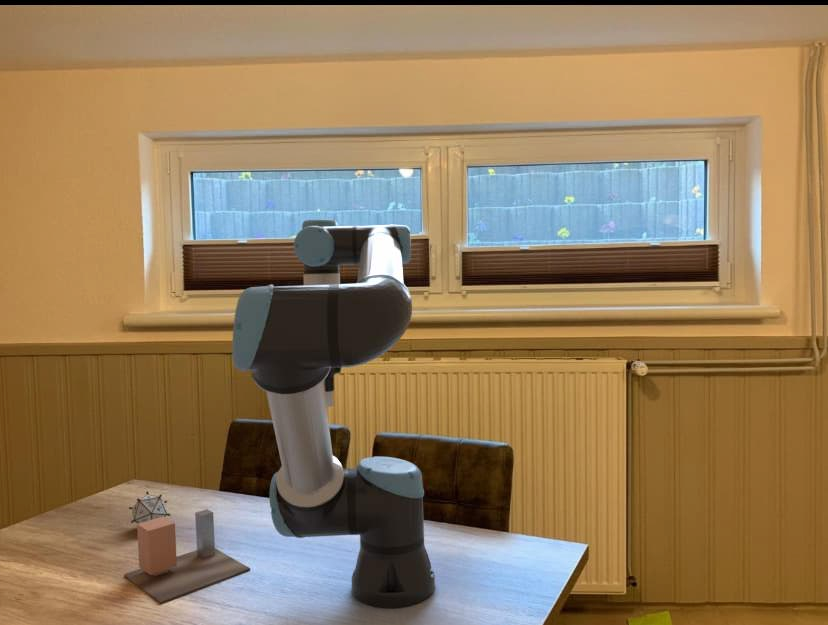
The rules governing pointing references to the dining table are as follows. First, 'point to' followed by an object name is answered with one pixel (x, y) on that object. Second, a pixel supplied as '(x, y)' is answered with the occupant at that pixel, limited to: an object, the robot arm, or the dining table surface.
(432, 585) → the robot arm
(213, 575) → the board
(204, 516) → the grey post
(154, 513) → the knobbed grey icosahedron
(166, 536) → the terracotta upright block
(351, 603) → the dining table surface
